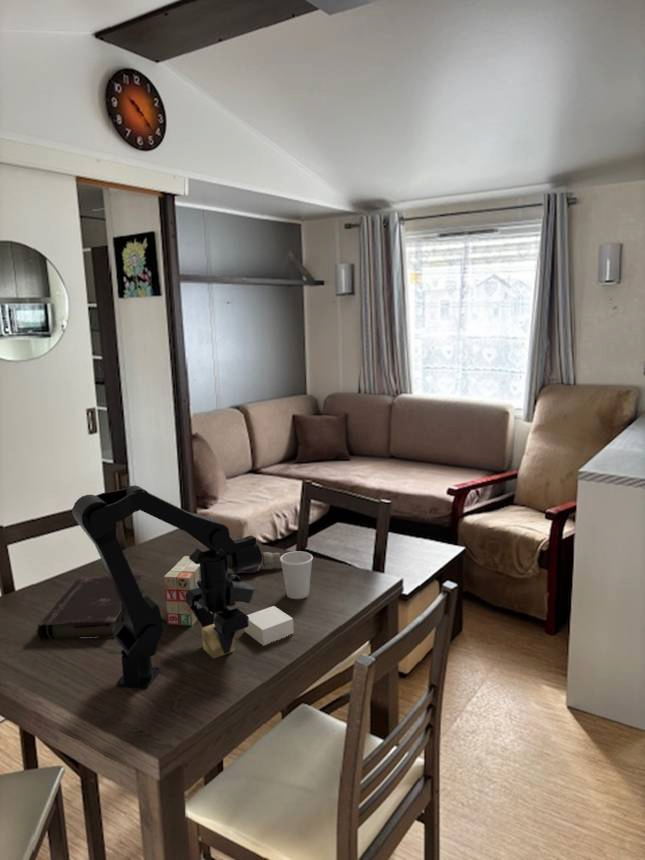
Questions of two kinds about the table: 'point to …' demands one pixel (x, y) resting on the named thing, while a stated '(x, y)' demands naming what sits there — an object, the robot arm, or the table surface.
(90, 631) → the diary
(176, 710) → the table surface
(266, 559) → the decorative bottle
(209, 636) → the mustard cube
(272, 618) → the ivory block
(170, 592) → the stack of blocks
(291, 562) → the dixie cup
